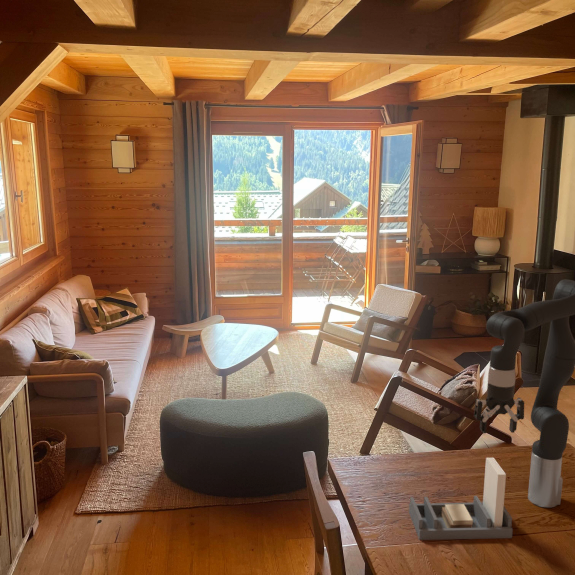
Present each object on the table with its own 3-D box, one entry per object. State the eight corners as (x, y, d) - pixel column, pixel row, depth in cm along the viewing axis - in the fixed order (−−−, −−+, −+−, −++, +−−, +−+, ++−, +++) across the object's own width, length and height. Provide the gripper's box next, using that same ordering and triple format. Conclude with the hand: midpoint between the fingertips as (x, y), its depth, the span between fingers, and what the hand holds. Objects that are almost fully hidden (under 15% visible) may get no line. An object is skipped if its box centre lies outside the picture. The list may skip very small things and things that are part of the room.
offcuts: (462, 514, 185) (463, 502, 184) (473, 534, 175) (474, 521, 174) (441, 515, 185) (441, 502, 184) (450, 534, 175) (451, 521, 174)
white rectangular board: (489, 514, 185) (493, 457, 180) (501, 534, 175) (506, 474, 171) (482, 514, 185) (486, 457, 180) (493, 534, 175) (498, 474, 171)
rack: (494, 513, 187) (495, 493, 186) (511, 540, 173) (513, 520, 172) (408, 514, 187) (409, 495, 185) (419, 542, 173) (420, 522, 171)
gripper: (519, 376, 174) (516, 425, 177) (473, 377, 174) (470, 426, 177) (530, 385, 166) (526, 437, 170) (481, 386, 166) (478, 438, 170)
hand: (497, 431), depth 173 cm, fingers open, 8 cm apart
